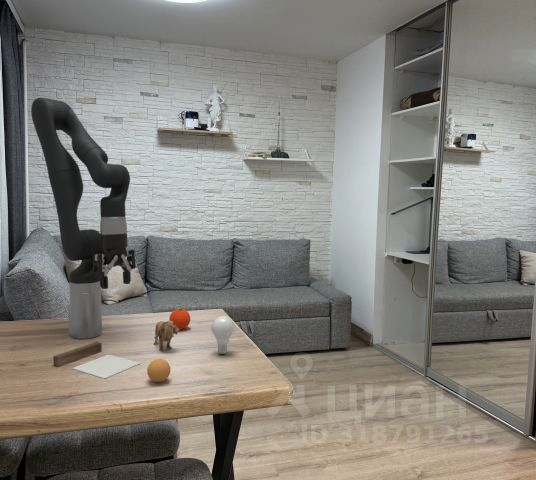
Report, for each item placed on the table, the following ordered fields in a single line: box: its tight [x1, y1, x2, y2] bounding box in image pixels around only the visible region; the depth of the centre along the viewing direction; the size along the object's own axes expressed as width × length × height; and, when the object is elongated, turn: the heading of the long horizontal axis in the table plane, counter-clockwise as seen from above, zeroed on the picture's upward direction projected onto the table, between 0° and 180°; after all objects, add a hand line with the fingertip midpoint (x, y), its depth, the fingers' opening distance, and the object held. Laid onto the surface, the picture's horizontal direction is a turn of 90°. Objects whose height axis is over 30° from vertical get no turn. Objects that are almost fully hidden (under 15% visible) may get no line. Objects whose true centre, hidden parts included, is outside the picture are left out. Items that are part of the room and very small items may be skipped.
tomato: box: [168, 307, 191, 331], centre depth 158 cm, size 8×7×7 cm
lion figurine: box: [153, 320, 180, 352], centre depth 140 cm, size 15×5×9 cm, turn 34°
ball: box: [146, 358, 171, 383], centre depth 115 cm, size 6×6×6 cm
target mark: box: [71, 354, 141, 380], centre depth 124 cm, size 12×12×1 cm
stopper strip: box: [53, 341, 102, 368], centre depth 129 cm, size 2×14×2 cm, turn 150°
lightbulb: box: [211, 315, 235, 355], centre depth 135 cm, size 6×6×11 cm
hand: (115, 286), depth 142 cm, fingers open, 8 cm apart
